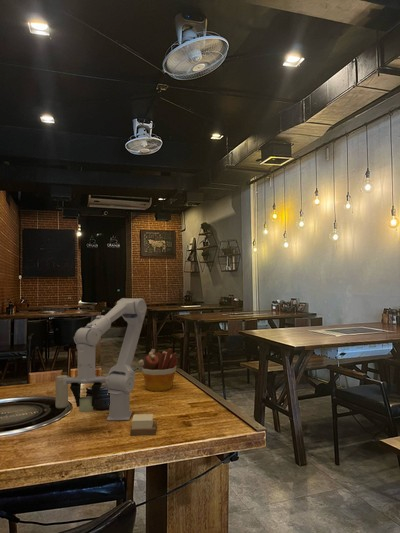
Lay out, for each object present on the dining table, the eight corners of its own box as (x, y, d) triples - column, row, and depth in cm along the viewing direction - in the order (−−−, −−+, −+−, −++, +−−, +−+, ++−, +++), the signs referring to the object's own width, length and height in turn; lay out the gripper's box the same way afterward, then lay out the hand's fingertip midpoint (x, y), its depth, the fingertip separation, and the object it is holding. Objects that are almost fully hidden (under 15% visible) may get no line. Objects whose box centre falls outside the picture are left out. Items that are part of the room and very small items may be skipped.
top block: (133, 422, 133) (133, 414, 133) (153, 421, 134) (153, 414, 134) (131, 428, 127) (131, 420, 127) (152, 428, 127) (152, 420, 127)
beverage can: (69, 404, 160) (69, 375, 161) (65, 408, 155) (66, 377, 156) (57, 405, 160) (57, 375, 161) (53, 408, 155) (53, 377, 156)
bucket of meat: (133, 387, 188) (133, 345, 189) (163, 382, 198) (163, 342, 199) (155, 396, 172) (155, 350, 173) (186, 390, 182) (186, 346, 183)
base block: (133, 428, 134) (133, 421, 134) (156, 428, 134) (156, 420, 134) (130, 437, 126) (130, 429, 126) (155, 437, 126) (155, 429, 127)
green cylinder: (81, 408, 132) (81, 396, 133) (94, 408, 133) (94, 396, 133) (77, 412, 128) (77, 400, 128) (91, 412, 128) (91, 399, 128)
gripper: (60, 367, 127) (60, 410, 126) (106, 366, 128) (106, 408, 127) (66, 362, 134) (66, 403, 133) (110, 362, 135) (109, 402, 134)
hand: (86, 405), depth 130 cm, fingers closed on green cylinder, 4 cm apart
